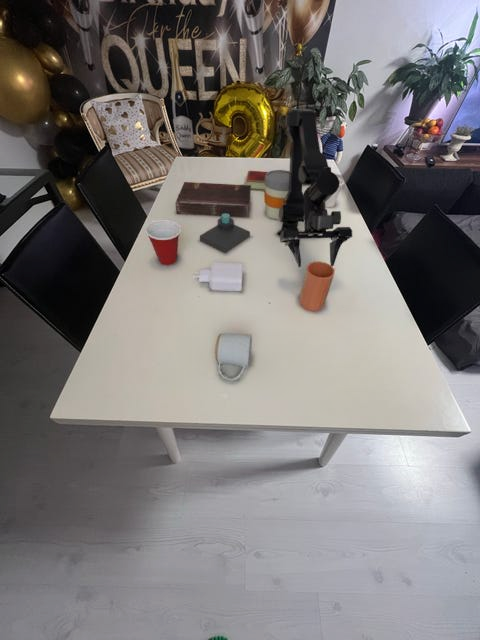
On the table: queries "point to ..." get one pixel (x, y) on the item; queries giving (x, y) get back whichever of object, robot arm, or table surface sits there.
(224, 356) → the ceramic mug
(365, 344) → the table surface
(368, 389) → the table surface
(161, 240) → the plastic cup
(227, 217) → the button
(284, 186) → the reusable coffee cup
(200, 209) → the hardback book
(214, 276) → the charger
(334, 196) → the dixie cup
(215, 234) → the dark grey base plate
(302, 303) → the cup
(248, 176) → the hardcover book
